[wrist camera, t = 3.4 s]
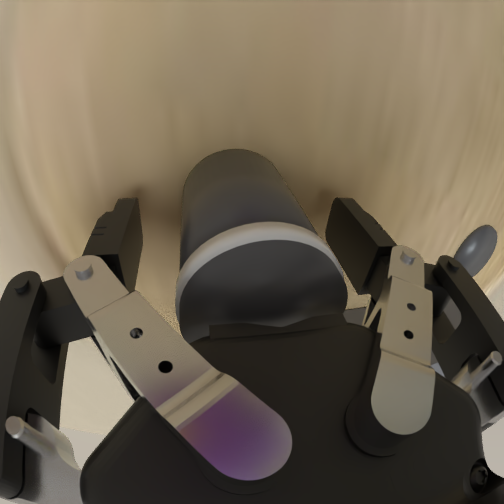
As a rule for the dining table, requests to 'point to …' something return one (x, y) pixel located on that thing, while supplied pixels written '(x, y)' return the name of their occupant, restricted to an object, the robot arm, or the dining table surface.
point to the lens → (249, 250)
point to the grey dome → (477, 249)
